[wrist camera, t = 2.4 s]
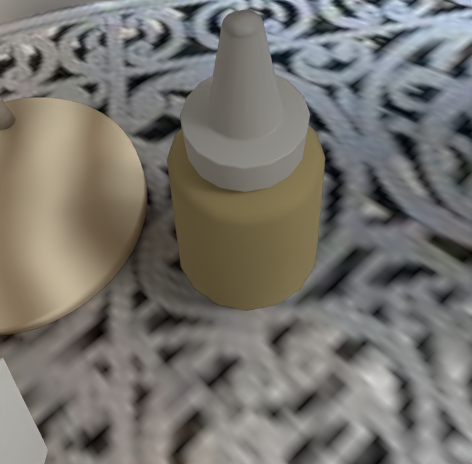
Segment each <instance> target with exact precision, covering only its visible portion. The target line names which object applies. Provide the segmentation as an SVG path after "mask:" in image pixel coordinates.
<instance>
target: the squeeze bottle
mask: <svg viewBox="0 0 472 464" xmlns="http://www.w3.org/2000/svg"><path fill="white" fill-rule="evenodd" d="M309 118H310V113H309V110H308V107H307V105H306V102H305V99H304V96H303V95H302V94H301V93H300V92H299V91H298V90H297V89H296V88H295V87H294V86H293V85H292V84H291V83H290V82H289V81H288V80H286V79H284V78H282V77H279V76H277V75H275V74H274V69H273V65H272V60H271V56H270V51H269V46H268V42H267V37H266V33H265V28H264V23H263V20H262V18H261V17H260V16H259V15H258V14H256V13H254V12H252V11H245V10H241V11H235V12H233V13H231V14H228V15H227V16H226V17H225V18H224V20H223V23H222V27H221V33H220V39H219V45H218V50H217V56H216V62H215V68H214V74H213V77H211V78H208V79H206V80H204V81H202V82H201V83H200V84H199V85H198V86H197V87H196V88H195V89H194V90H193V91H192V92H191V93H190V95H189V96H188V97H187V98H186V100H185V103H184V106H183V109H182V112H181V115H180V120H181V126H182V128H181V129H180V130H179V132H178V133H177V134H176V135H175V137H174V140H173V143H172V146H171V149H170V152H169V155H168V158H167V163H168V171H169V179H170V187H171V195H172V203H173V211H174V218H175V226H176V234H177V242H178V249H179V256H180V264H181V268H182V270H183V271H184V273H185V274H186V276H187V277H188V279H189V280H190V282H191V284H192V285H193V287H194V288H195V290H197V291H198V292H200V293H201V294H203V295H204V296H206V297H207V298H209V299H211V300H212V301H214V302H215V303H217V304H218V305H222V306H227V307H232V308H237V309H242V310H253V309H258V308H263V307H268V306H274V305H277V304H278V303H280V302H281V301H283V300H285V299H286V298H288V297H289V296H291V295H292V294H294V293H295V292H297V291H298V290H300V288H301V287H302V285H303V284H304V282H305V281H306V279H307V278H308V276H309V275H310V273H311V271H312V270H313V268H314V266H315V259H316V252H317V245H318V235H319V224H320V212H321V200H322V189H323V177H324V165H325V156H324V153H323V150H322V147H321V144H320V141H319V138H318V135H317V133H316V132H315V131H314V130H313V129H312V128H311V127H310V126H309V125H308V124H309Z"/></svg>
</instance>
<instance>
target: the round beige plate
mask: <svg viewBox="0 0 472 464" xmlns="http://www.w3.org/2000/svg"><path fill="white" fill-rule="evenodd" d="M146 210H147V184H146V178H145V174H144V171H143V168H142V165H141V162H140V160H139V157H138V155H137V152H136V150H135V148H134V146H133V144H132V142H131V141H130V139H129V138H128V136H127V135H126V134H125V133H124V131H123V130H122V129H121V128H120V127H119V126H118V125H117V124H116V123H115V122H114V121H113V120H111V119H110V118H108V117H107V116H106V115H104V114H103V113H101V112H99V111H97V110H95V109H93V108H91V107H89V106H86V105H83V104H80V103H77V102H73V101H69V100H64V99H56V98H25V99H17V100H12V101H6V102H4V101H3V100H2V99H1V97H0V336H1V335H10V334H16V333H20V332H24V331H29V330H33V329H35V328H38V327H41V326H44V325H46V324H49V323H52V322H54V321H56V320H58V319H60V318H62V317H64V316H66V315H68V314H70V313H71V312H73V311H74V310H76V309H77V308H79V307H81V306H82V305H84V304H85V303H86V302H88V301H89V300H90V299H91V298H93V297H94V296H95V295H96V294H98V293H99V292H100V291H101V290H102V289H103V288H104V287H105V286H106V285H107V284H108V283H109V282H110V281H111V280H112V279H113V278H114V277H115V276H116V274H117V273H118V272H119V271H120V269H121V268H122V267H123V265H124V264H125V263H126V261H127V259H128V258H129V256H130V254H131V253H132V251H133V249H134V248H135V245H136V243H137V241H138V239H139V236H140V234H141V231H142V228H143V224H144V221H145V217H146Z"/></svg>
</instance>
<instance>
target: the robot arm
mask: <svg viewBox="0 0 472 464" xmlns="http://www.w3.org/2000/svg"><path fill="white" fill-rule="evenodd" d="M47 452H48V449H47V447H46V445H45V443H44V441H43V439H42V437H41V435H40V433H39V431H38V429H37V426H36V424H35V422H34V420H33V418H32V416H31V414H30V412H29V410H28V408H27V406H26V404H25V402H24V400H23V398H22V396H21V394H20V392H19V390H18V388H17V386H16V383H15V381H14V379H13V377H12V375H11V373H10V371H9V369H8V367H7V365H6V363H5V361H4V359H3V358H0V464H44V463H45V459H46V456H47Z"/></svg>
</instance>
